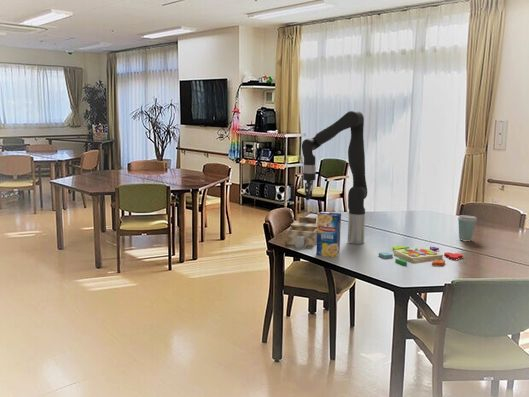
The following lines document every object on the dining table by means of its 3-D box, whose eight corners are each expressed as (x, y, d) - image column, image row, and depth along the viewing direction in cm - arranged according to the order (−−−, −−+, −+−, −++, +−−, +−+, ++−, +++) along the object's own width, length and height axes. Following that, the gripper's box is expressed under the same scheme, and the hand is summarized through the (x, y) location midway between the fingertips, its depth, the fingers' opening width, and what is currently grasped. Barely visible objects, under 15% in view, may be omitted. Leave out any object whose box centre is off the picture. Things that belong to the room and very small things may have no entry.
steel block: (305, 246, 278) (305, 236, 277) (303, 248, 273) (303, 238, 272) (297, 245, 279) (297, 235, 278) (295, 247, 275) (295, 237, 274)
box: (318, 241, 289) (318, 227, 288) (314, 246, 278) (314, 232, 277) (291, 238, 294) (291, 225, 292) (286, 243, 282) (286, 230, 281)
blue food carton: (319, 251, 268) (321, 211, 264) (339, 254, 264) (341, 213, 260) (316, 254, 262) (317, 214, 258) (336, 257, 258) (338, 215, 254)
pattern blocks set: (422, 272, 237) (423, 266, 236) (369, 255, 263) (369, 249, 263) (468, 259, 259) (468, 253, 259) (415, 245, 286) (415, 239, 285)
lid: (321, 224, 296) (321, 217, 296) (317, 228, 285) (317, 221, 284) (295, 222, 301) (295, 215, 300) (290, 226, 290) (290, 219, 289)
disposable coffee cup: (457, 237, 303) (459, 213, 301) (476, 239, 298) (478, 215, 295) (454, 241, 294) (456, 216, 292) (473, 243, 289) (476, 218, 286)
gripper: (313, 173, 291) (312, 201, 293) (317, 171, 304) (317, 197, 307) (300, 173, 293) (300, 200, 295) (305, 170, 306) (305, 196, 309)
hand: (308, 198), depth 301 cm, fingers open, 8 cm apart
